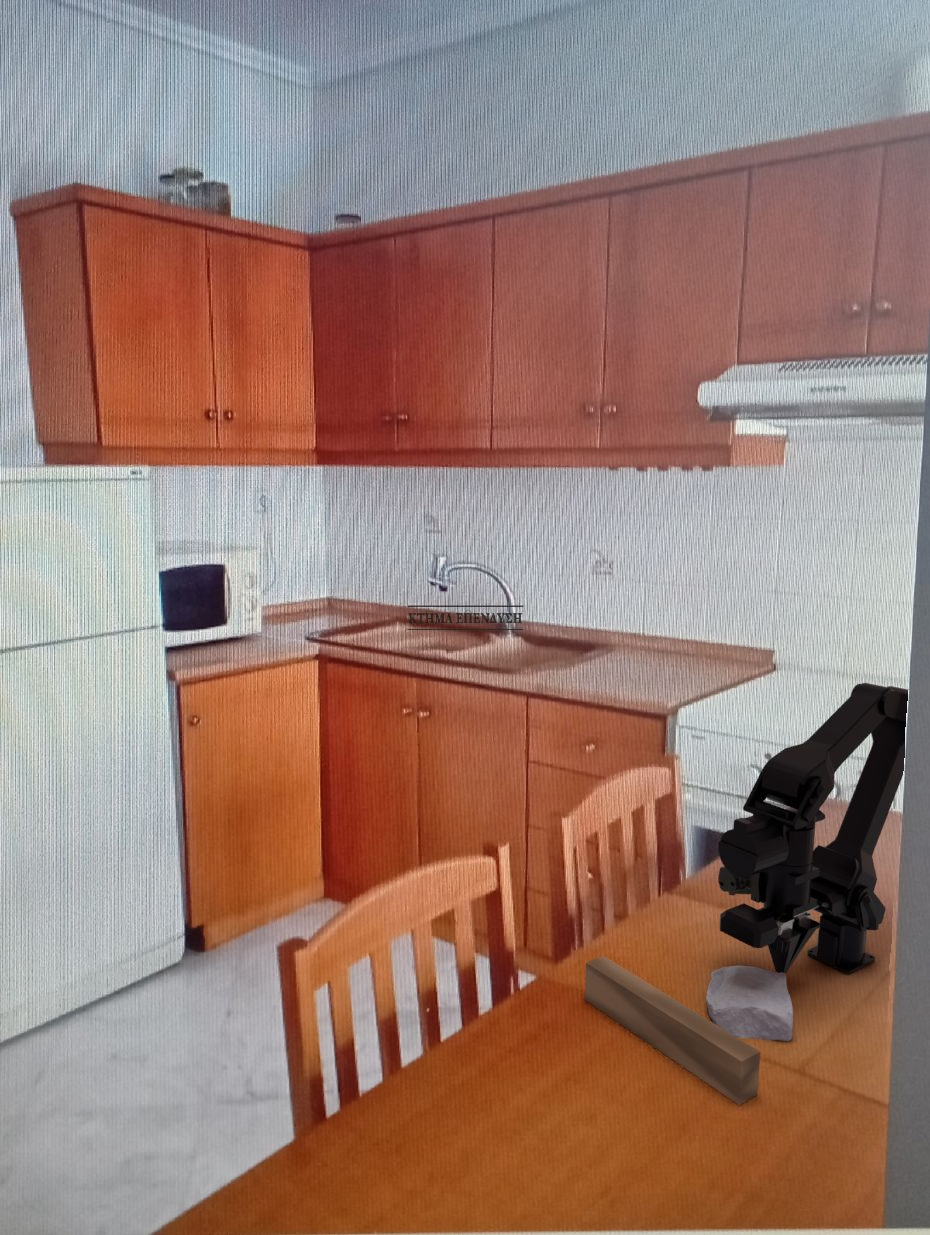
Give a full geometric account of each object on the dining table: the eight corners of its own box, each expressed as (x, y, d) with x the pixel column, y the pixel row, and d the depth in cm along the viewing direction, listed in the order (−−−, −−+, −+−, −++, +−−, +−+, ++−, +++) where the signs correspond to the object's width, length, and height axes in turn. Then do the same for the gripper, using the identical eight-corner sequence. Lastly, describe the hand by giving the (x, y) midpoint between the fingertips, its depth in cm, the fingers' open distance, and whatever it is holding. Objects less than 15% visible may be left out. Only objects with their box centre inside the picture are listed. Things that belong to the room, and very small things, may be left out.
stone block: (712, 1050, 112) (800, 1045, 109) (706, 1011, 111) (794, 1005, 109) (708, 999, 123) (787, 993, 121) (702, 964, 123) (781, 958, 120)
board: (602, 992, 120) (603, 955, 119) (757, 1094, 101) (760, 1051, 100) (584, 999, 118) (585, 962, 118) (739, 1105, 99) (741, 1061, 98)
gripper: (781, 822, 131) (774, 928, 133) (689, 852, 120) (683, 966, 122) (854, 849, 122) (845, 962, 124) (761, 884, 111) (753, 1006, 113)
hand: (780, 972), depth 121 cm, fingers closed
